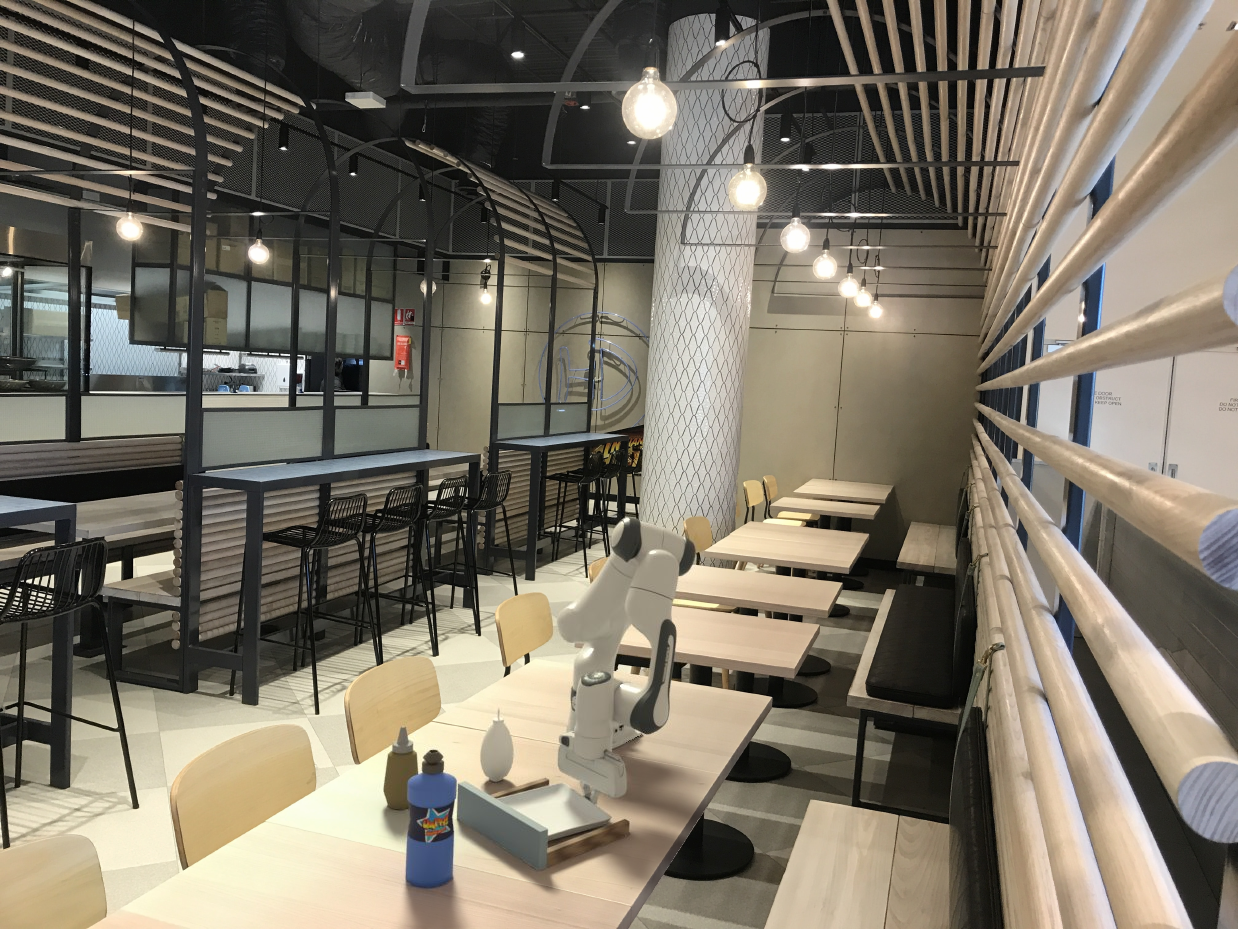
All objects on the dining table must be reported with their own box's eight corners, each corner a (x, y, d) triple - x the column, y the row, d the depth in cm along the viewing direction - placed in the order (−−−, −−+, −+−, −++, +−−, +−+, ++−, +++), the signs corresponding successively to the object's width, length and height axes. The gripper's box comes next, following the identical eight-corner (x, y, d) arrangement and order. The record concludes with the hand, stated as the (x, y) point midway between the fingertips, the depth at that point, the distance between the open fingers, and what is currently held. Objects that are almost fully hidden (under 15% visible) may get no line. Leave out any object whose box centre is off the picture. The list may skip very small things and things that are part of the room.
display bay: (544, 789, 228) (546, 757, 227) (628, 834, 207) (630, 799, 206) (456, 818, 210) (457, 783, 210) (538, 870, 189) (540, 831, 189)
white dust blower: (518, 781, 232) (521, 708, 231) (493, 789, 226) (496, 716, 225) (498, 771, 237) (500, 700, 236) (473, 779, 232) (475, 707, 230)
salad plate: (529, 855, 196) (530, 839, 196) (482, 815, 214) (482, 800, 213) (613, 831, 209) (614, 816, 208) (562, 795, 226) (562, 781, 226)
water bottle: (400, 868, 188) (404, 745, 186) (447, 861, 192) (451, 740, 190) (409, 892, 179) (414, 763, 177) (458, 884, 183) (463, 757, 181)
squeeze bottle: (425, 800, 219) (428, 724, 217) (406, 815, 211) (409, 736, 210) (395, 794, 221) (397, 718, 220) (375, 808, 214) (377, 730, 212)
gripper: (634, 754, 212) (631, 815, 213) (574, 728, 226) (572, 784, 227) (613, 761, 207) (610, 823, 208) (554, 734, 222) (551, 791, 223)
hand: (590, 802), depth 218 cm, fingers closed
